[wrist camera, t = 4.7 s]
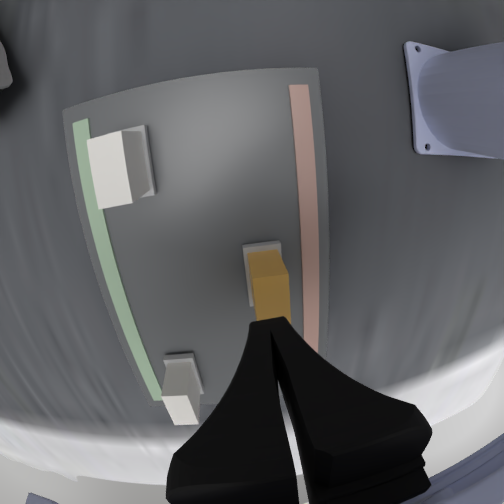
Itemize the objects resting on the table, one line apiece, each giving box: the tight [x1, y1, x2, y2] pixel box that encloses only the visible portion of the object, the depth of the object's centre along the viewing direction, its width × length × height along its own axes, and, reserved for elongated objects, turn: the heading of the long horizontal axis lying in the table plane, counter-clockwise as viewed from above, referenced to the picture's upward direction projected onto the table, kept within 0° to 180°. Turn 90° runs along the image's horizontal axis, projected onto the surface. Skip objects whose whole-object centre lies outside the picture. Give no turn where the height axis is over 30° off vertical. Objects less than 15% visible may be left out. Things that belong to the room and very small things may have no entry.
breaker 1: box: [87, 125, 157, 209], centre depth 12 cm, size 2×4×4 cm, turn 6°
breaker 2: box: [161, 353, 204, 425], centre depth 18 cm, size 2×4×4 cm, turn 6°
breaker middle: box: [242, 240, 291, 324], centre depth 15 cm, size 2×4×4 cm, turn 6°
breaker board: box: [62, 68, 329, 407], centre depth 18 cm, size 14×22×2 cm, turn 6°
